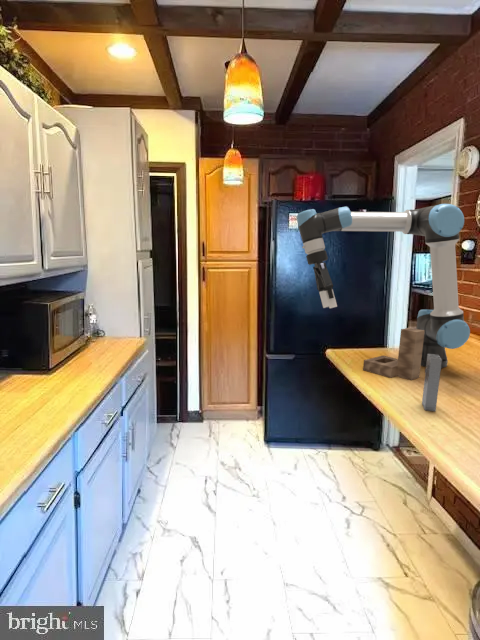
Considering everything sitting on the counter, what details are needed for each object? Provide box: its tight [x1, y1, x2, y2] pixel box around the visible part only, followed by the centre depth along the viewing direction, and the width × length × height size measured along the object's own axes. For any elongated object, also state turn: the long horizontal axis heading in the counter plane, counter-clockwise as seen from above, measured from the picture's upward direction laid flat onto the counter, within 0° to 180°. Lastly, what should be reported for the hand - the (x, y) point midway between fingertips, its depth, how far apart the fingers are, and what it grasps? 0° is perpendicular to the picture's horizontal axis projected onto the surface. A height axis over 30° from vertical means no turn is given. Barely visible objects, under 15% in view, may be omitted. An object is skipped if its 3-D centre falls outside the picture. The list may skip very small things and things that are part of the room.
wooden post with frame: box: [362, 327, 425, 381], centre depth 168 cm, size 18×14×18 cm
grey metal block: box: [421, 354, 442, 412], centre depth 133 cm, size 4×6×16 cm, turn 165°
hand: (330, 307), depth 164 cm, fingers open, 13 cm apart
